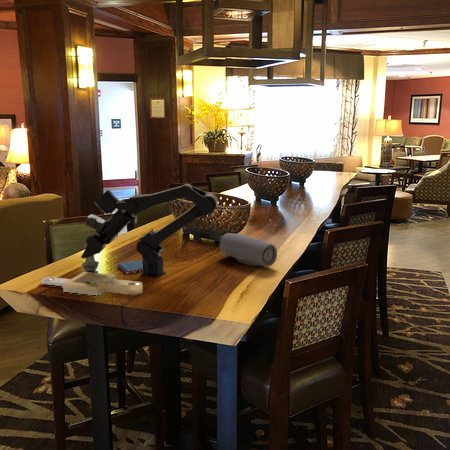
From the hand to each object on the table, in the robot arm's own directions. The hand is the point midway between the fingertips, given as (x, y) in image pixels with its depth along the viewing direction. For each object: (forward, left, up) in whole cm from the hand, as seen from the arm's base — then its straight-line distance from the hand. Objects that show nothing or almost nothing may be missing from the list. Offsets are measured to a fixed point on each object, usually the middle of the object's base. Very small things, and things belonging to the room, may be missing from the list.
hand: (86, 254), depth 171 cm
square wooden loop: (-18, +9, -7) cm, 21 cm away
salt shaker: (-1, 0, -7) cm, 7 cm away
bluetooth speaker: (-43, -39, -7) cm, 58 cm away
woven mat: (-11, -12, -8) cm, 18 cm away
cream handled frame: (-6, +12, -7) cm, 15 cm away
